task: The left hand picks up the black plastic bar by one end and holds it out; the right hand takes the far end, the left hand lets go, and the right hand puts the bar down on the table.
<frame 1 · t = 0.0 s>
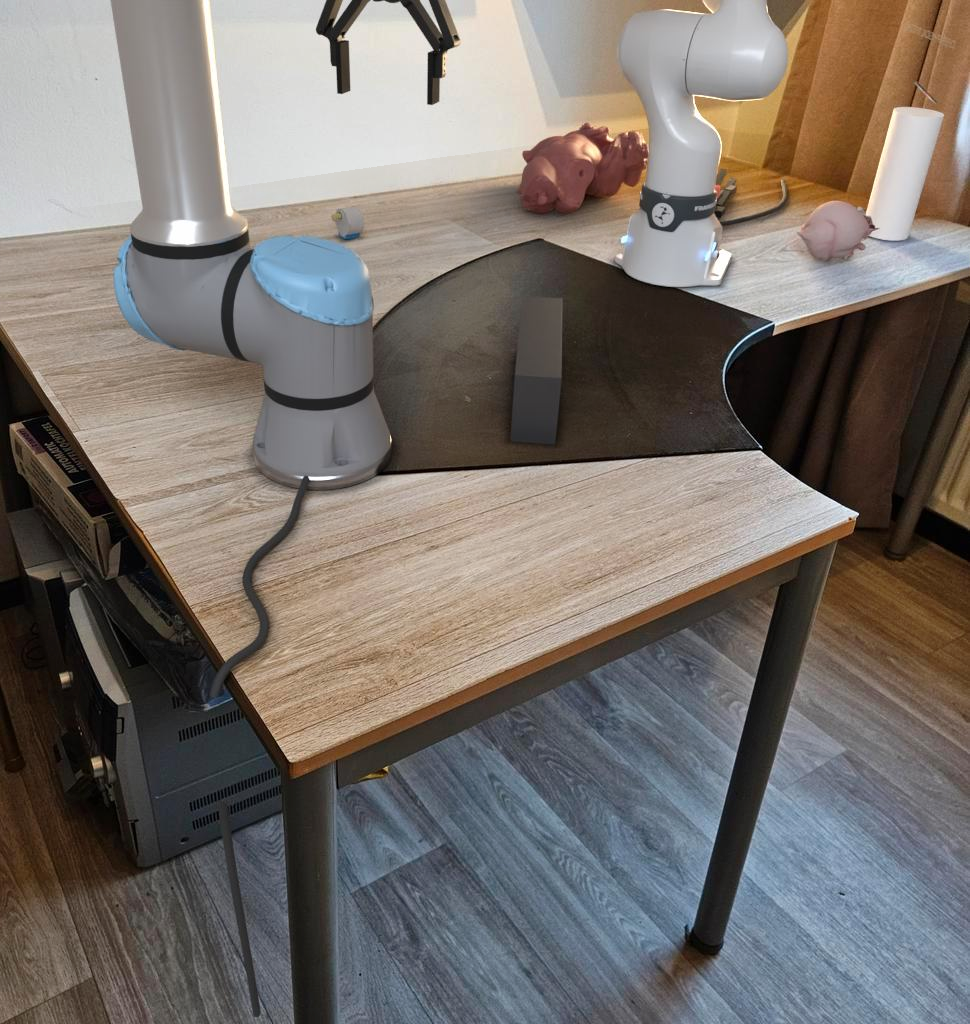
left hand: (388, 97, 135), 28 cm above the table, tool pointing down, fingers open, 13 cm apart
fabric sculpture: (573, 204, 192), on the table
tall white tube: (880, 233, 185), on the table
toy 2: (827, 257, 172), on the table
ceramic shard: (220, 306, 141), on the table
bar: (535, 396, 122), on the table
electric motor: (346, 238, 169), on the table
toy: (710, 205, 196), on the table
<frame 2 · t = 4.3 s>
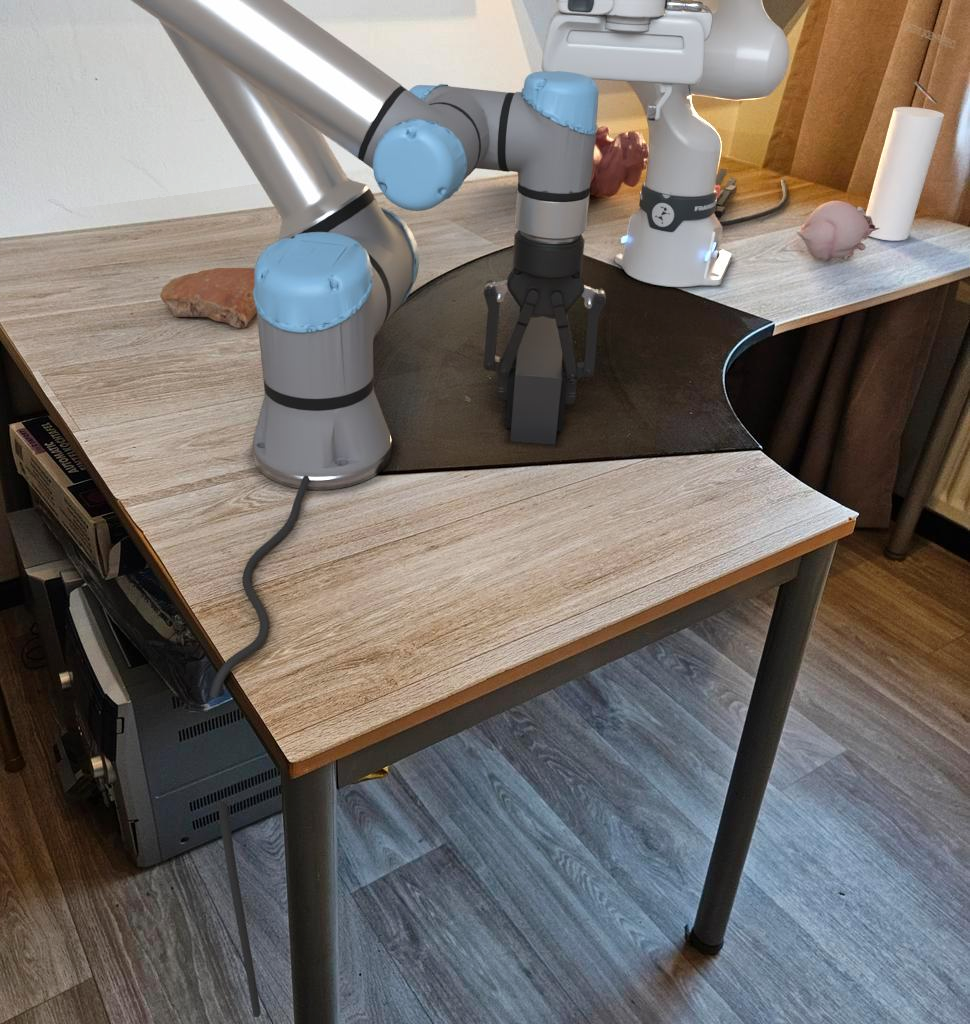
left hand: (533, 423, 115), 0 cm above the table, tool pointing down, fingers closed on bar, 5 cm apart
right hand: (615, 117, 124), 29 cm above the table, tool pointing down, fingers open, 8 cm apart
bar: (535, 396, 122), on the table, touching left hand
everything else where it was.
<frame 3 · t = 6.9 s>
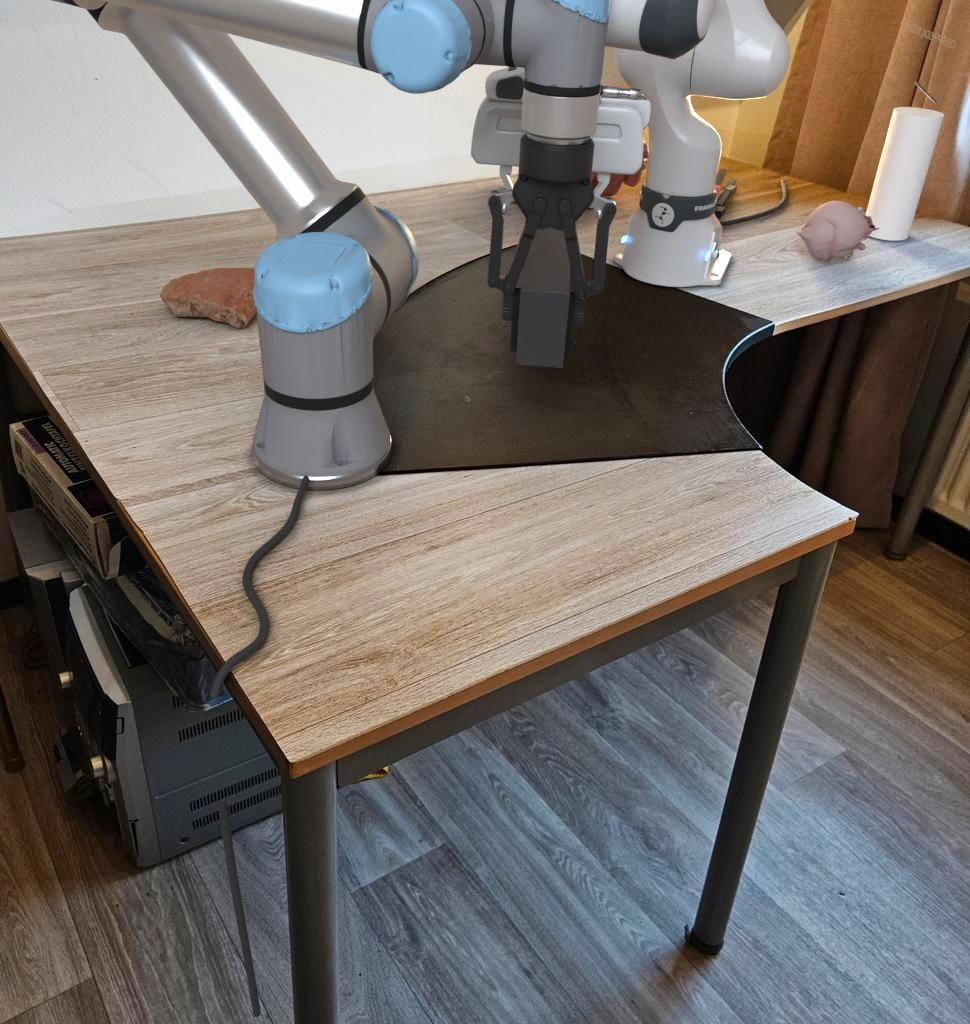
left hand: (540, 347, 110), 10 cm above the table, tool pointing down, fingers closed on bar, 5 cm apart
right hand: (551, 206, 117), 22 cm above the table, tool pointing down, fingers open, 8 cm apart
bar: (541, 324, 117), point 10 cm above the table, touching left hand
everything else where it was.
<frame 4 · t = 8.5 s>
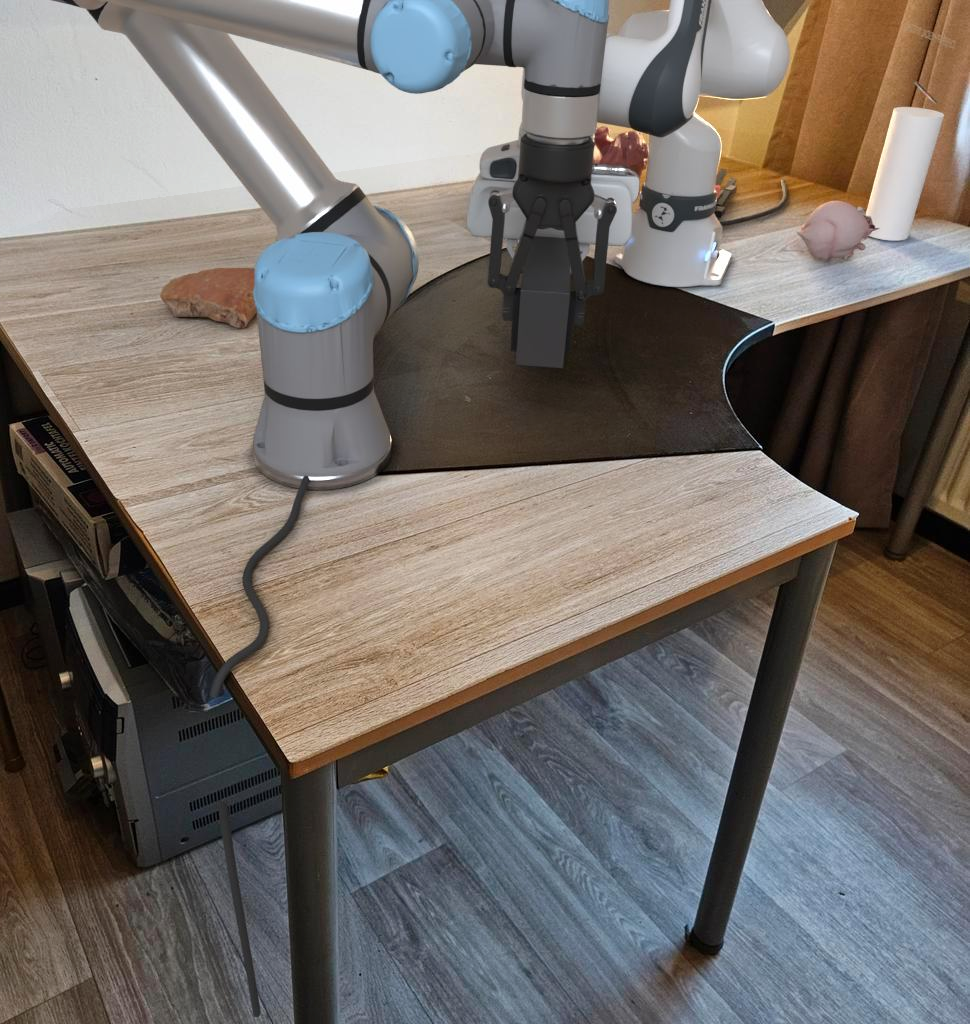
left hand: (540, 347, 110), 10 cm above the table, tool pointing down, fingers closed on bar, 5 cm apart
right hand: (544, 274, 121), 13 cm above the table, tool pointing down, fingers closed on bar, 5 cm apart
bar: (541, 324, 117), point 10 cm above the table, touching left hand, right hand
everything else where it was.
when the left hand's fingers open (10 cm above the table, at t = 9.4 s): bar stays where it is, held by the right hand.
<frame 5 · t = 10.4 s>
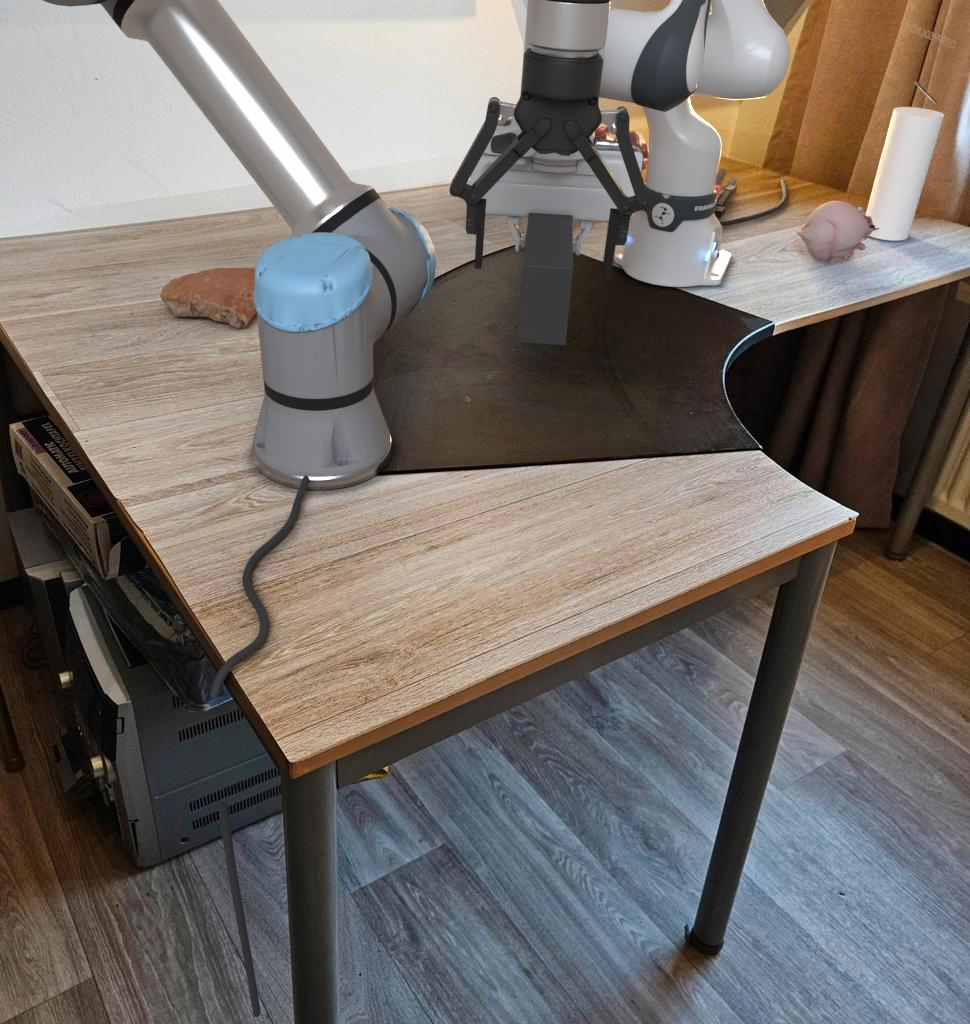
left hand: (542, 269, 102), 21 cm above the table, tool pointing down, fingers open, 13 cm apart
right hand: (547, 252, 120), 16 cm above the table, tool pointing down, fingers closed on bar, 5 cm apart
bar: (544, 302, 115), point 13 cm above the table, touching right hand
everything else where it was.
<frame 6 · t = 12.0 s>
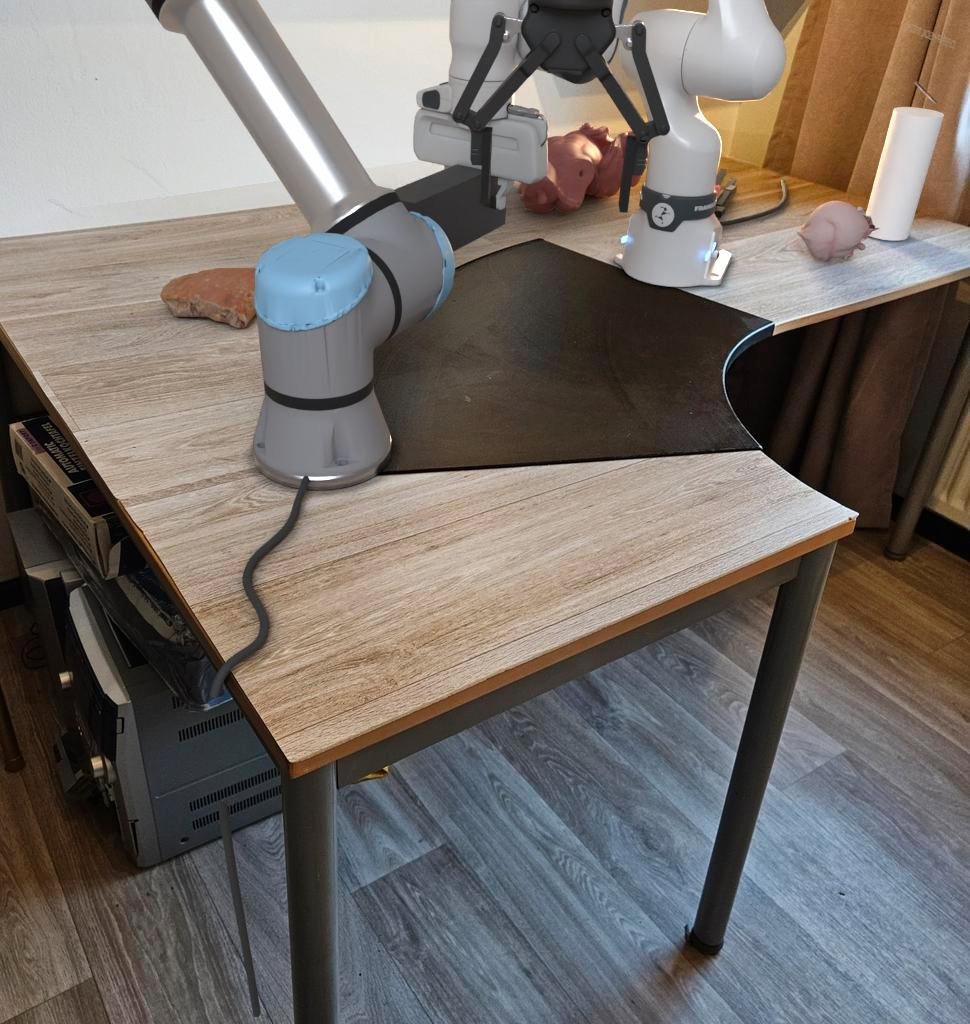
left hand: (553, 204, 95), 28 cm above the table, tool pointing down, fingers open, 13 cm apart
right hand: (477, 203, 136), 16 cm above the table, tool pointing down, fingers closed on bar, 5 cm apart
bar: (446, 242, 132), point 13 cm above the table, touching right hand
everything else where it was.
when the right hand's fingers open (5 cm above the table, at t = 15.5 s): bar drops 1 cm, on the table.
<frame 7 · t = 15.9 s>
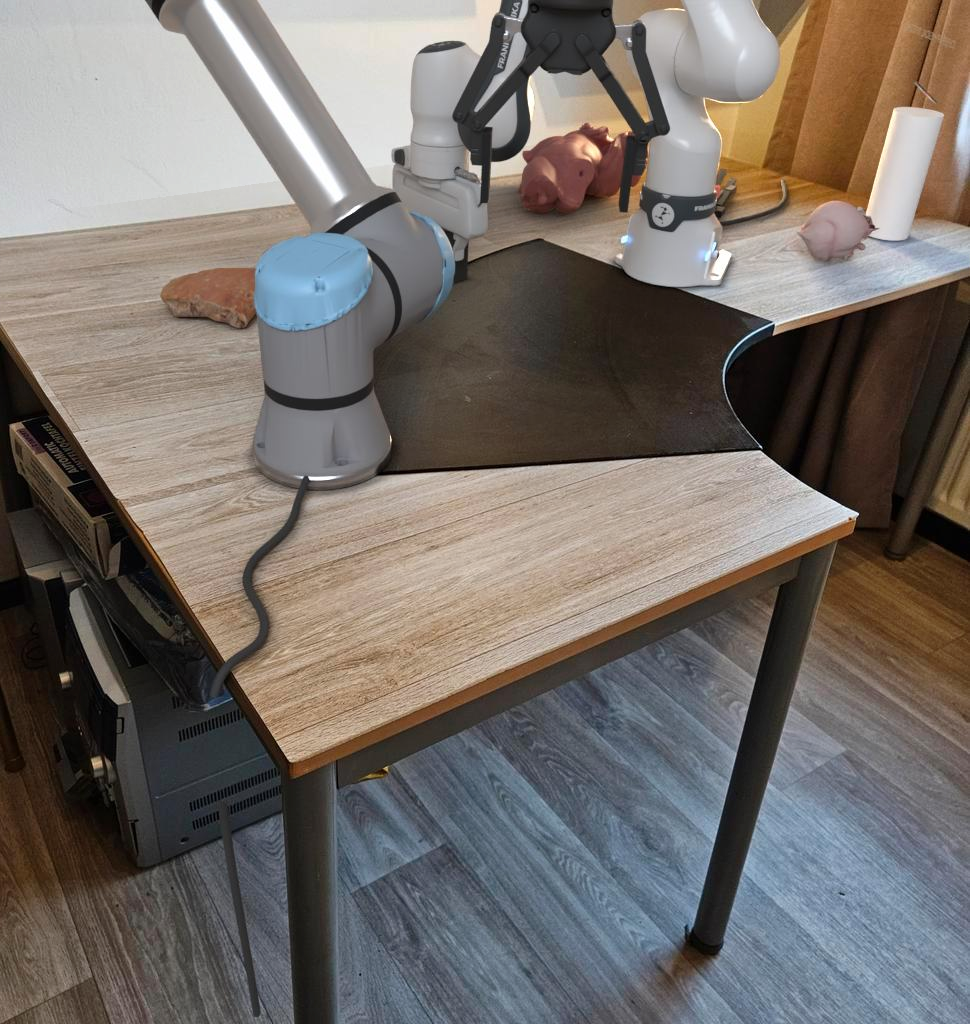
left hand: (553, 204, 95), 28 cm above the table, tool pointing down, fingers open, 13 cm apart
right hand: (438, 250, 152), 5 cm above the table, tool pointing down, fingers open, 8 cm apart
bar: (397, 289, 150), on the table
everything else where it was.
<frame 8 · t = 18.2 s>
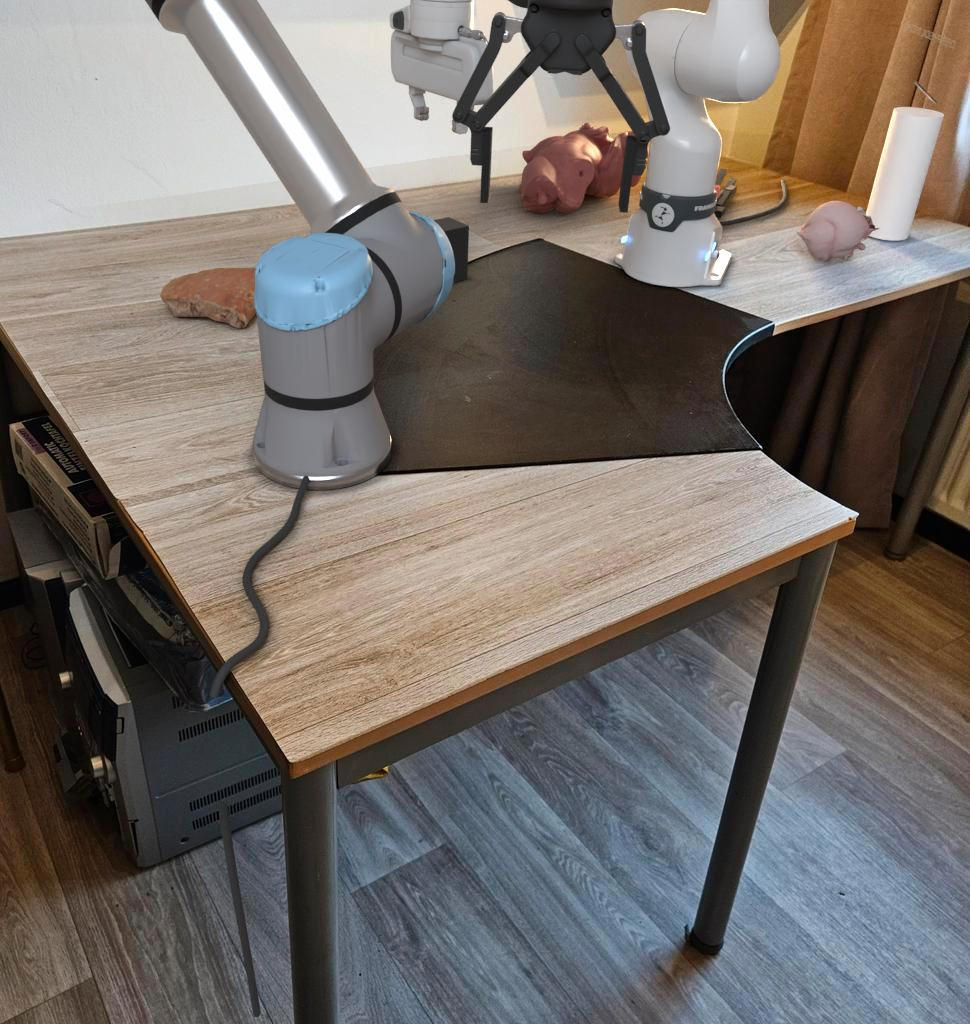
left hand: (553, 204, 95), 28 cm above the table, tool pointing down, fingers open, 13 cm apart
right hand: (440, 126, 142), 23 cm above the table, tool pointing down, fingers open, 8 cm apart
nothing on the table moved.
at the end: bar inside the target area (7.8 cm from its centre), on the table; the left hand is holding nothing; the right hand is holding nothing; bar at rest at the end (0.0 cm/s) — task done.
